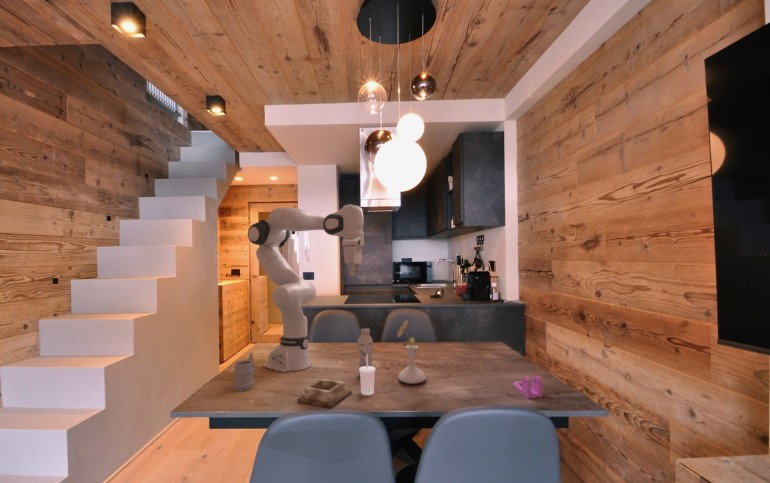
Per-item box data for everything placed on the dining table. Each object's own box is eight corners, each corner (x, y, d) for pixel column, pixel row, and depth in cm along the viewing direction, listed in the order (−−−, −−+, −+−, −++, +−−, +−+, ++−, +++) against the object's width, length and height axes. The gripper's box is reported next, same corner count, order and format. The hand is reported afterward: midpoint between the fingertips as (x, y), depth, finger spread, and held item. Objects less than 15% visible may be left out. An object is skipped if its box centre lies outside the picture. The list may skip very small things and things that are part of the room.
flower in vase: (410, 374, 151) (409, 316, 152) (432, 381, 143) (430, 319, 144) (389, 382, 142) (388, 320, 143) (410, 389, 134) (409, 323, 135)
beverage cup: (376, 395, 129) (375, 356, 129) (359, 396, 128) (359, 357, 129) (375, 389, 135) (374, 352, 135) (359, 390, 134) (358, 352, 135)
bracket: (542, 397, 125) (541, 377, 125) (527, 398, 124) (527, 378, 125) (524, 384, 138) (523, 366, 138) (510, 385, 137) (510, 367, 138)
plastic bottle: (371, 379, 146) (371, 330, 147) (356, 378, 147) (355, 330, 148) (375, 374, 152) (374, 327, 153) (360, 373, 154) (359, 327, 154)
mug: (229, 391, 135) (229, 359, 135) (244, 380, 146) (244, 351, 147) (248, 392, 134) (248, 360, 134) (262, 381, 146) (262, 351, 146)
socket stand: (297, 402, 124) (297, 389, 124) (320, 388, 136) (320, 376, 137) (331, 408, 118) (331, 394, 118) (351, 393, 131) (351, 381, 131)
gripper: (351, 243, 161) (352, 273, 160) (340, 241, 141) (341, 276, 140) (365, 243, 160) (366, 273, 159) (356, 240, 140) (357, 275, 139)
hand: (354, 274), depth 149 cm, fingers open, 8 cm apart
